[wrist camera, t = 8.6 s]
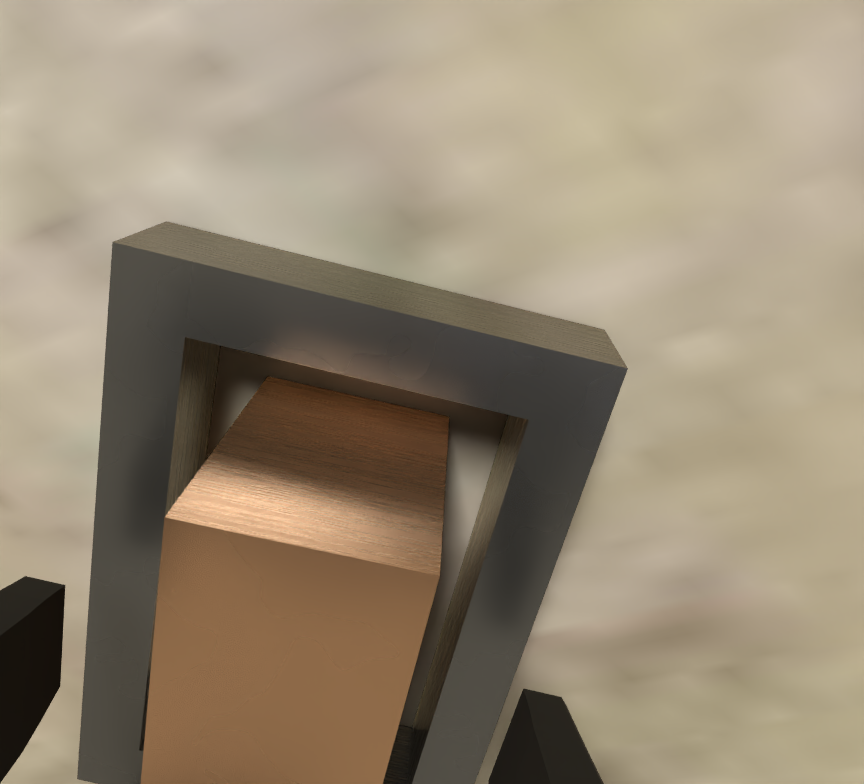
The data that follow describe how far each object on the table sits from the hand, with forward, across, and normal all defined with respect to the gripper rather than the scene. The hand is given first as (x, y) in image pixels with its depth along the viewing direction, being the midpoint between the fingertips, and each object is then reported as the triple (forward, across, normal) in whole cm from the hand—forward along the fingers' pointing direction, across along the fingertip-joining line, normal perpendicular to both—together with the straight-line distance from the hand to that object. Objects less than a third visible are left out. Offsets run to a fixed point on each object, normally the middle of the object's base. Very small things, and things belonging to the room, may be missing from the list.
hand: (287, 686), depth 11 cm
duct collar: (+4, 0, 0) cm, 4 cm away
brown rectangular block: (+4, 0, 0) cm, 4 cm away
